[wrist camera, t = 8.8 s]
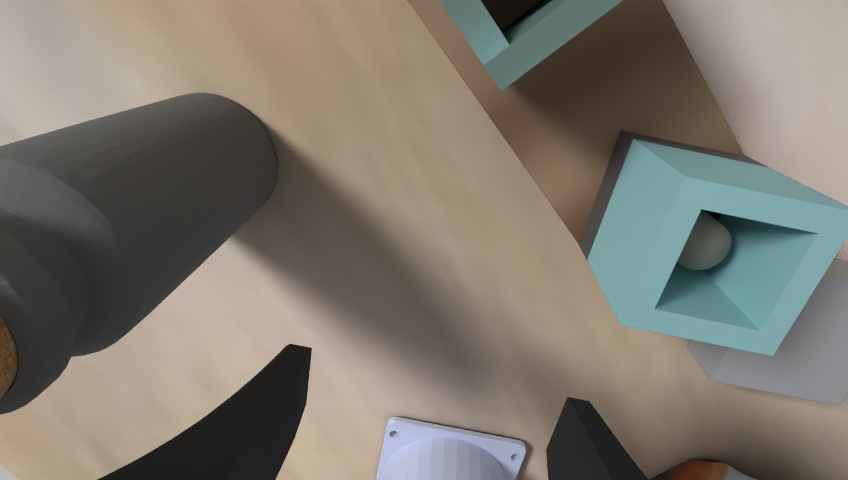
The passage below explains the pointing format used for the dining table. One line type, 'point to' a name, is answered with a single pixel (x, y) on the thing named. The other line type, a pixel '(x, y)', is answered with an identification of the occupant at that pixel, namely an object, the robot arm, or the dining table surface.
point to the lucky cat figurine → (702, 471)
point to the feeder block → (795, 349)
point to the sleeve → (671, 226)
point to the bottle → (116, 225)
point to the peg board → (583, 92)
